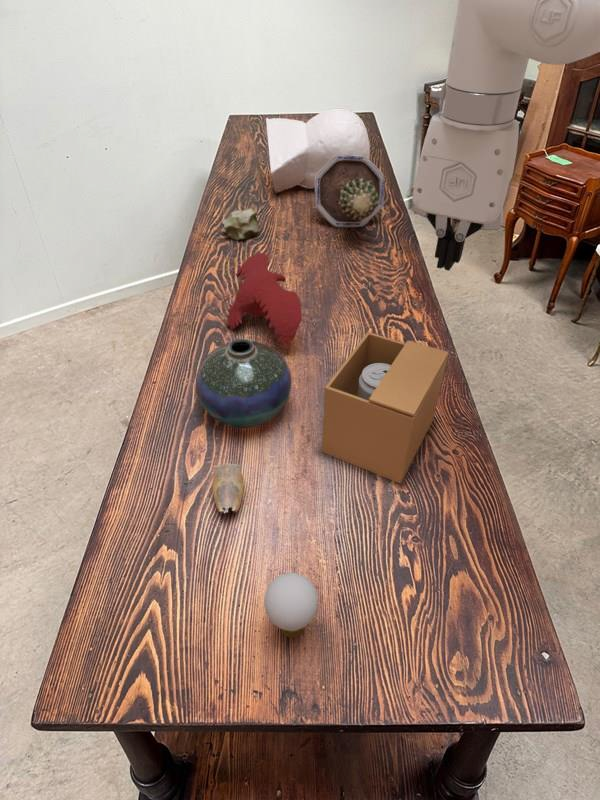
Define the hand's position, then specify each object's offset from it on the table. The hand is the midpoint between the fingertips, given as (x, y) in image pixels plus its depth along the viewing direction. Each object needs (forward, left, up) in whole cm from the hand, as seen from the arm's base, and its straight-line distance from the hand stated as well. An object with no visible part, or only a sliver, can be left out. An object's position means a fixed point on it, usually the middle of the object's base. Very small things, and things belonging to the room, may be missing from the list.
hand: (446, 264), depth 68 cm
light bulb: (+1, +39, -29) cm, 49 cm away
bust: (+59, -80, -29) cm, 104 cm away
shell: (+18, +27, -29) cm, 44 cm away
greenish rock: (+62, -44, -29) cm, 81 cm away
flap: (+1, +5, -15) cm, 16 cm away
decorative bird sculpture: (+38, -13, -29) cm, 50 cm away
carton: (+4, +5, -29) cm, 30 cm away
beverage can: (+5, +5, -29) cm, 30 cm away
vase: (+26, +10, -29) cm, 40 cm away
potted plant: (+40, -61, -29) cm, 78 cm away
